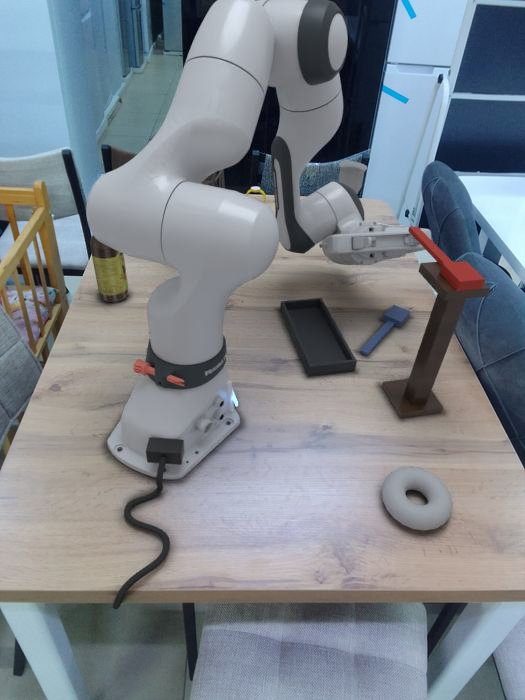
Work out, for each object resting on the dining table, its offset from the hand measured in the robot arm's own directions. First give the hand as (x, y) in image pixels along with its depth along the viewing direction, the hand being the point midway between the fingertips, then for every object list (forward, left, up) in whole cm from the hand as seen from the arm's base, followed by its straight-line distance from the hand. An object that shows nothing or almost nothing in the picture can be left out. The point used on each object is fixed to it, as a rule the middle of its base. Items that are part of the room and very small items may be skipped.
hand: (397, 240), depth 90 cm
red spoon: (-11, -9, +4) cm, 14 cm away
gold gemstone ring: (+43, +48, -22) cm, 68 cm away
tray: (-6, +10, -22) cm, 25 cm away
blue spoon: (+4, -2, -22) cm, 23 cm away
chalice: (+43, +21, -22) cm, 53 cm away
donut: (-35, -17, -22) cm, 45 cm away
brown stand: (-14, -11, -22) cm, 28 cm away
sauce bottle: (-14, +54, -22) cm, 61 cm away
